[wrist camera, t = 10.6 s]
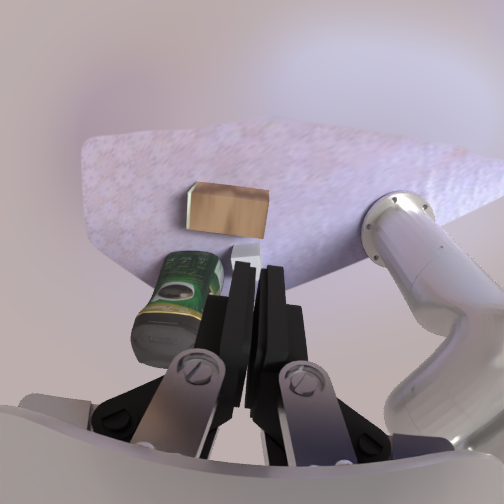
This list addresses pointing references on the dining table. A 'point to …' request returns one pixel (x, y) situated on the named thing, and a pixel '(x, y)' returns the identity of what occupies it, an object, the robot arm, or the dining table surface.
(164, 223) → the dining table surface
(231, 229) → the tan block
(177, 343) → the coffee jar
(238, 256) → the grey cube
